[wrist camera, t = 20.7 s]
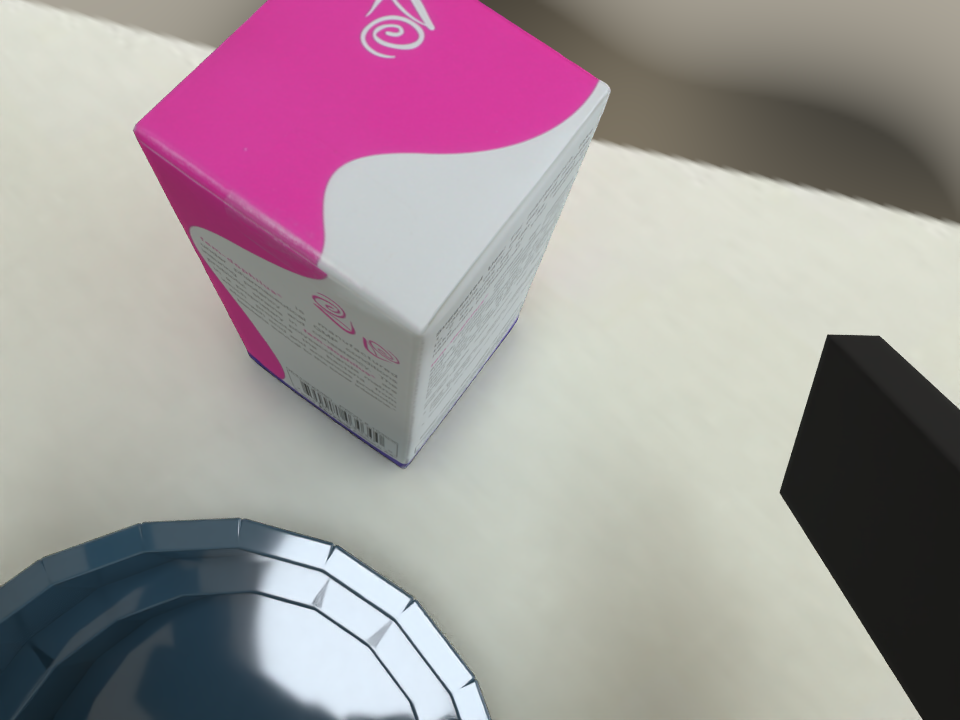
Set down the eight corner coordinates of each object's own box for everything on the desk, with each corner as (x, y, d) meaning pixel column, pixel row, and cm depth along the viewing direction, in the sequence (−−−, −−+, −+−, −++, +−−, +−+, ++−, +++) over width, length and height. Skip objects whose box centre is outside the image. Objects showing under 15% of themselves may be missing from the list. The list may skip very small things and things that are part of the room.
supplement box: (523, 314, 25) (629, 86, 14) (404, 474, 23) (414, 360, 12) (368, 204, 25) (349, -101, 14) (240, 353, 23) (106, 138, 13)
